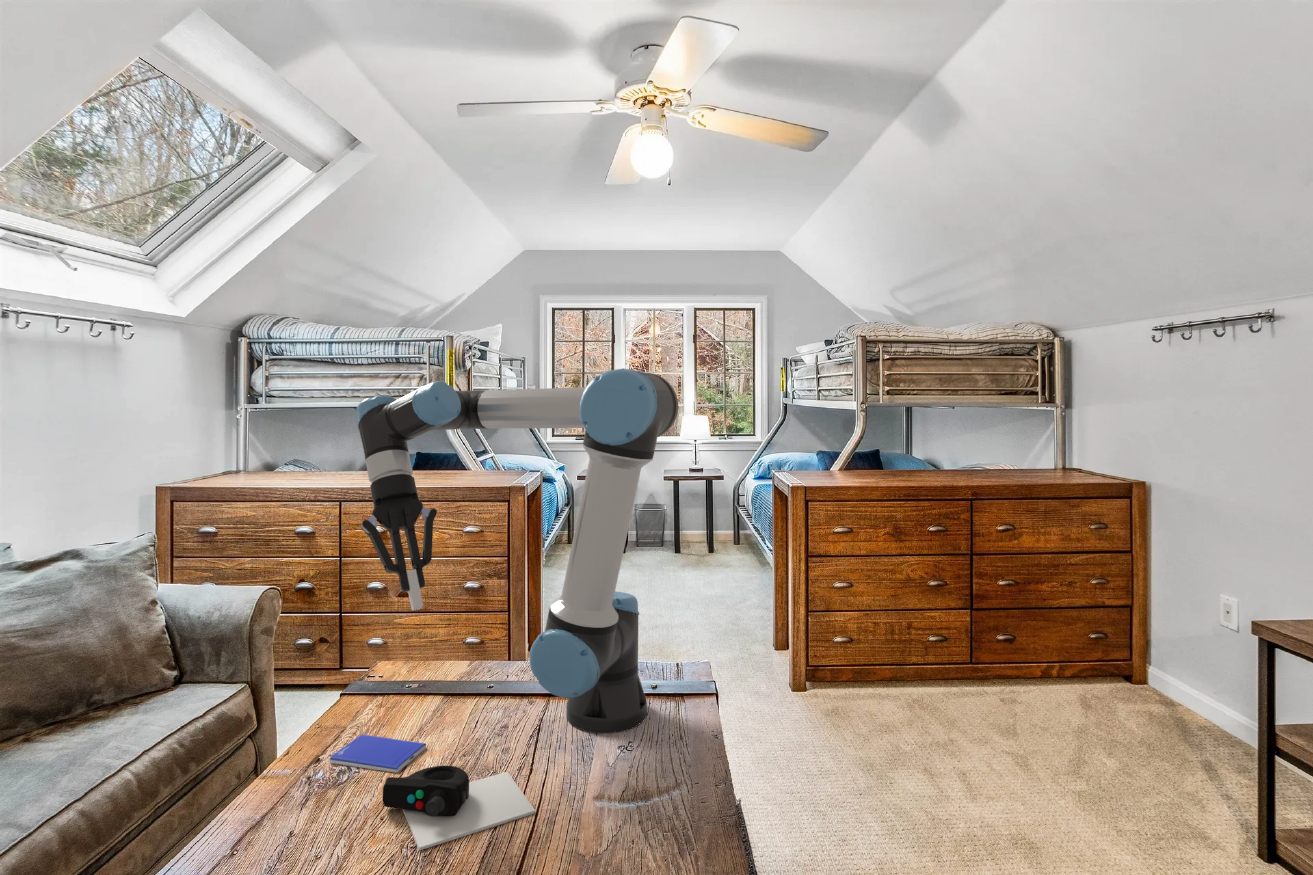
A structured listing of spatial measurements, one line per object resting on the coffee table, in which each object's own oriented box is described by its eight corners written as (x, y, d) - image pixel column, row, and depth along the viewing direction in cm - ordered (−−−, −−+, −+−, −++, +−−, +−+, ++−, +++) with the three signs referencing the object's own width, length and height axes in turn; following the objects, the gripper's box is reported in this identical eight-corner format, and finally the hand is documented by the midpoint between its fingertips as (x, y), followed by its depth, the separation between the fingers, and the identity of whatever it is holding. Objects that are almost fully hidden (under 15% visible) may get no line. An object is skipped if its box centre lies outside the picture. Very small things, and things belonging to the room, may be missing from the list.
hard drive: (329, 756, 110) (397, 766, 107) (362, 733, 118) (426, 741, 115) (329, 766, 110) (397, 776, 107) (362, 741, 118) (426, 750, 115)
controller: (484, 792, 102) (450, 827, 92) (409, 785, 104) (369, 818, 94) (484, 763, 102) (450, 794, 92) (409, 756, 104) (369, 786, 95)
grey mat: (507, 774, 107) (507, 771, 107) (535, 812, 97) (535, 810, 97) (400, 804, 99) (400, 801, 99) (418, 850, 88) (418, 847, 88)
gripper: (425, 480, 129) (451, 603, 123) (351, 491, 122) (374, 621, 116) (432, 467, 123) (460, 595, 117) (354, 478, 116) (379, 614, 110)
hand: (417, 608), depth 116 cm, fingers closed
